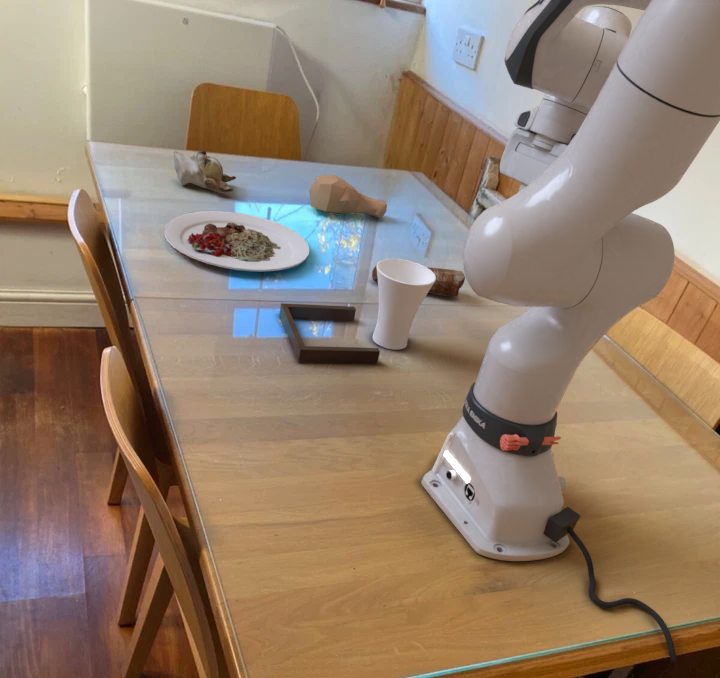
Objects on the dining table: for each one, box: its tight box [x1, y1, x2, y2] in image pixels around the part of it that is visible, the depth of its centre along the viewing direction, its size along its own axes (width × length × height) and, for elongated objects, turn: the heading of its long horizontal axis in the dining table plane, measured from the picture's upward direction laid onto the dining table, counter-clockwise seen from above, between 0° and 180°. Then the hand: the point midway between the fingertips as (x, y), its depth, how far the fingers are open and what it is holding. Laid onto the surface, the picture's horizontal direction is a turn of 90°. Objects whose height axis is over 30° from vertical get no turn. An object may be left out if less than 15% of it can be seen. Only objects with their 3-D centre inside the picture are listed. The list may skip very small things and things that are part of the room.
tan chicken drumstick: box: [309, 174, 388, 219], centre depth 174 cm, size 11×20×9 cm, turn 104°
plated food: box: [164, 210, 310, 272], centre depth 147 cm, size 30×30×3 cm
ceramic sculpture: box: [173, 150, 237, 193], centre depth 169 cm, size 11×9×15 cm
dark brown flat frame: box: [279, 302, 381, 365], centre depth 123 cm, size 16×14×2 cm
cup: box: [372, 258, 436, 351], centre depth 124 cm, size 10×10×14 cm
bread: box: [371, 264, 466, 297], centre depth 147 cm, size 6×19×6 cm, turn 89°
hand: (522, 216), depth 117 cm, fingers closed
